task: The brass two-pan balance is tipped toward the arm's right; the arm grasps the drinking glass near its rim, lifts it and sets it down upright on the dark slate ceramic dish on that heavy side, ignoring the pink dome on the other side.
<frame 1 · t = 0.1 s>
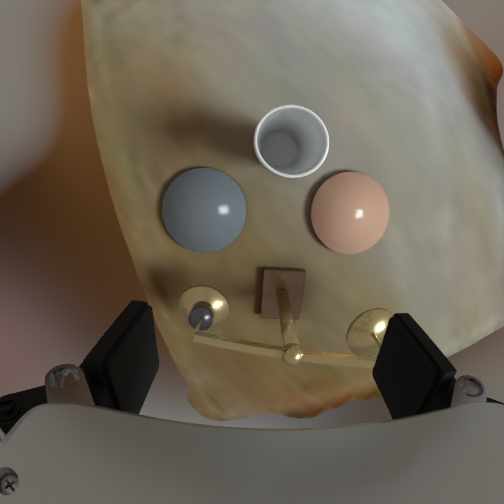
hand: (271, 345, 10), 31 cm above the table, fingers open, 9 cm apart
balance: (281, 292, 44), on the table
pink dome: (350, 212, 40), on the table
dish slate: (204, 209, 40), on the table
drinking glass: (279, 149, 38), on the table
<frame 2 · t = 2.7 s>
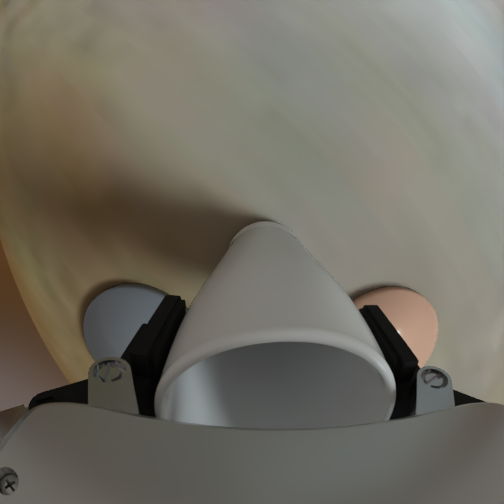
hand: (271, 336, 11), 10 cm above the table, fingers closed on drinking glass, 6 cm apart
pink dome: (378, 346, 23), on the table
dish slate: (144, 344, 23), on the table
drinking glass: (264, 255, 21), on the table, touching gripper
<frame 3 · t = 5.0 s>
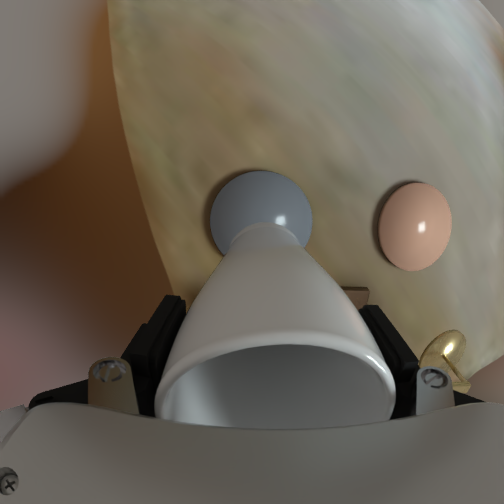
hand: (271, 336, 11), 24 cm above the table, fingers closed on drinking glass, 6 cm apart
balance: (341, 313, 38), on the table
pink dome: (415, 226, 34), on the table
dish slate: (261, 220, 34), on the table
drinking glass: (264, 255, 21), point 14 cm above the table, touching gripper
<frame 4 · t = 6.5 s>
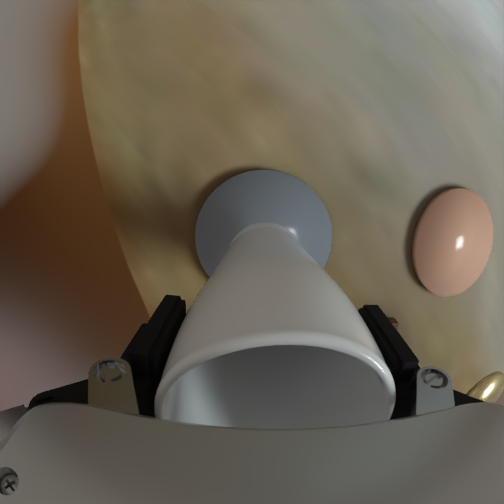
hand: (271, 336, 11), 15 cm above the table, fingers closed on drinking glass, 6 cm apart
balance: (362, 348, 29), on the table
pink dome: (454, 242, 25), on the table
dish slate: (263, 237, 26), on the table
drinking glass: (264, 256, 21), point 5 cm above the table, touching gripper
when the fingers open (13 cm above the table, at t = 7.7 s): drinking glass drops 1 cm, resting on dish slate.
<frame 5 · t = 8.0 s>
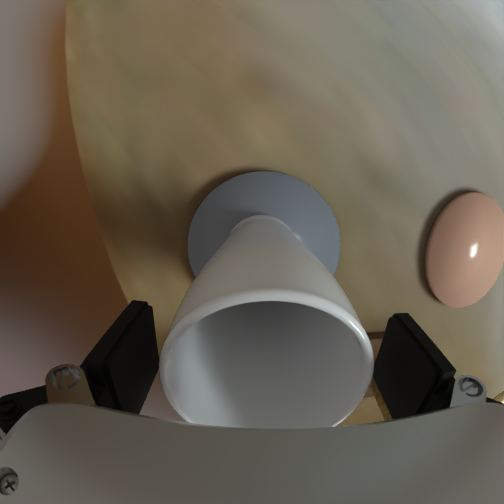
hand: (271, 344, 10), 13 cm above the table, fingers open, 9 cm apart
balance: (369, 363, 27), on the table
pink dome: (468, 250, 23), on the table
dish slate: (264, 246, 23), on the table
drinking glass: (261, 247, 22), point 1 cm above the table, touching dish slate
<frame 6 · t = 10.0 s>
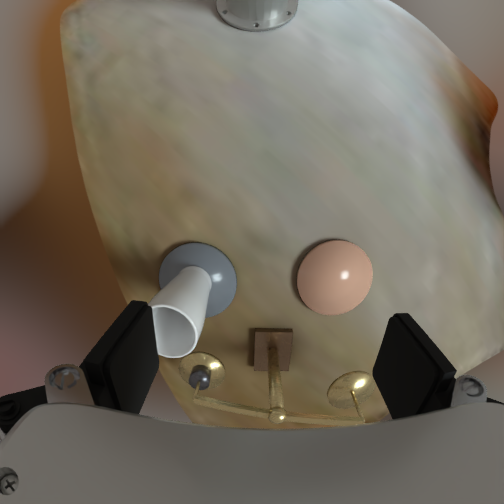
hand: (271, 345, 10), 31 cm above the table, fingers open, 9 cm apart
balance: (272, 348, 46), on the table
pink dome: (334, 277, 43), on the table
dish slate: (197, 280, 43), on the table
drinking glass: (195, 281, 43), point 1 cm above the table, touching dish slate
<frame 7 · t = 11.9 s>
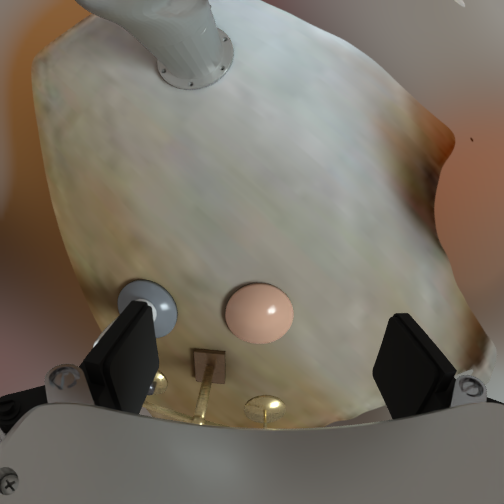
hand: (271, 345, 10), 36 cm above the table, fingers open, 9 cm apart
balance: (210, 365, 54), on the table
pink dome: (259, 313, 51), on the table
dish slate: (147, 308, 51), on the table
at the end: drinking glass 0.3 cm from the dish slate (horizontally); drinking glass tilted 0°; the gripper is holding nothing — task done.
